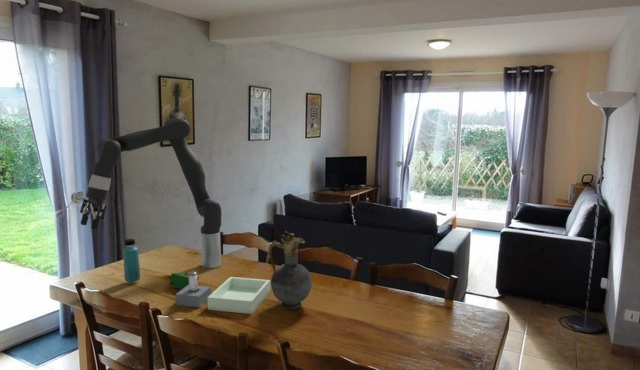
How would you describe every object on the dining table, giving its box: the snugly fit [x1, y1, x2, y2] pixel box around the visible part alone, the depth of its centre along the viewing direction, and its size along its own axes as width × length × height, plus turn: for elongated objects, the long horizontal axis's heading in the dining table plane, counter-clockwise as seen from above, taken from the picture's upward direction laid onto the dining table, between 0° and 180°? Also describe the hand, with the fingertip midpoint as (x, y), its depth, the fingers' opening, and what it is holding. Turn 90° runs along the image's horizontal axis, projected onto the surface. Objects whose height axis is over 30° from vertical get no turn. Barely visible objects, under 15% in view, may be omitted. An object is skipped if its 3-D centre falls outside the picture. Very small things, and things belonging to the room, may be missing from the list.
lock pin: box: [188, 270, 199, 293], centre depth 173 cm, size 3×3×12 cm
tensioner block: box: [175, 285, 212, 308], centre depth 174 cm, size 10×10×4 cm
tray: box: [207, 276, 271, 315], centre depth 175 cm, size 22×18×5 cm
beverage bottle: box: [122, 238, 141, 283], centre depth 191 cm, size 6×7×20 cm
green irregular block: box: [169, 272, 199, 290], centre depth 188 cm, size 12×6×9 cm, turn 56°
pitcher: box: [267, 231, 313, 310], centre depth 169 cm, size 11×19×30 cm, turn 57°
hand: (88, 226), depth 173 cm, fingers open, 8 cm apart
